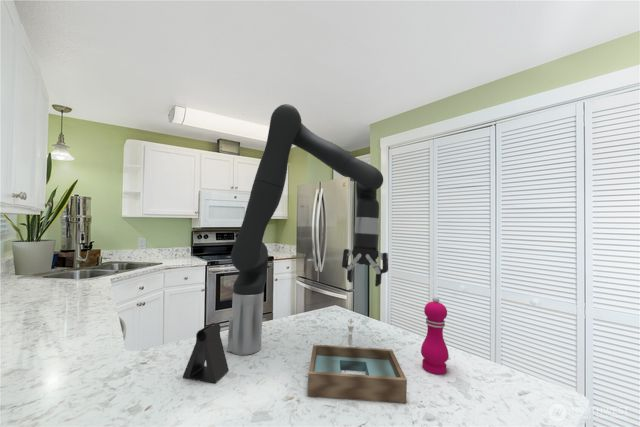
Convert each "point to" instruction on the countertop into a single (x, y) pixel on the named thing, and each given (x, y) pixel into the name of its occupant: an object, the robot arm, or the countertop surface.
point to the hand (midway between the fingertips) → (363, 284)
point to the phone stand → (207, 356)
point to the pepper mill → (435, 338)
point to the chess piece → (350, 333)
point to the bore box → (376, 385)
